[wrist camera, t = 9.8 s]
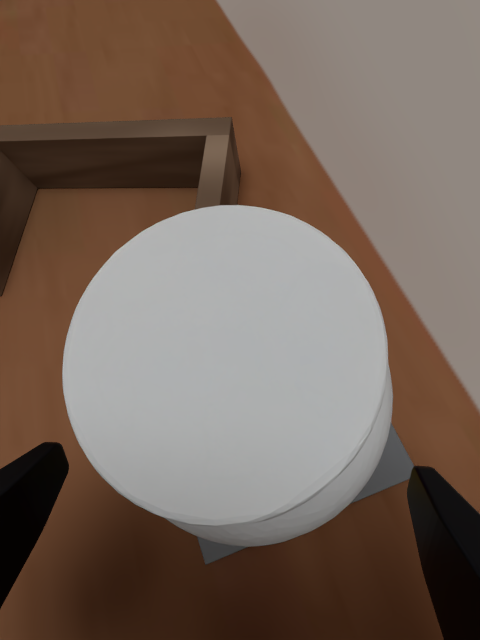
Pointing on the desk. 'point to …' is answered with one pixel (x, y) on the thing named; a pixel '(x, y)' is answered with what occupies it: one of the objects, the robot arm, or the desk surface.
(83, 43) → the desk surface
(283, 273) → the supplement bottle
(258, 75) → the desk surface
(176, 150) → the frame
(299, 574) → the desk surface
